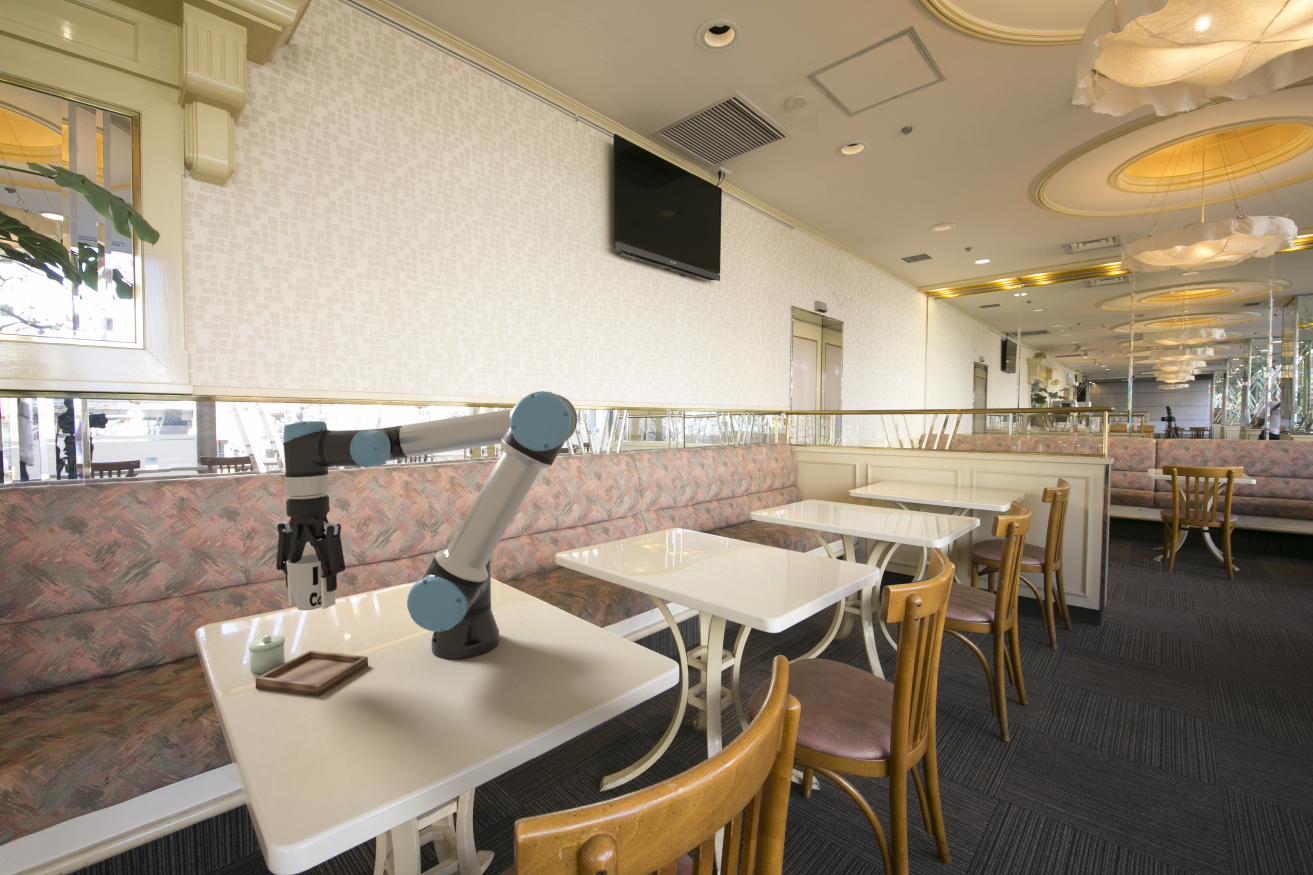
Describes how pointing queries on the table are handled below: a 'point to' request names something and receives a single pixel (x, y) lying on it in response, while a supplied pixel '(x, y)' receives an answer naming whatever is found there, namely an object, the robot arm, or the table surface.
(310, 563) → the cup
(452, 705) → the table surface
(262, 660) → the sugar pot
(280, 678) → the tray
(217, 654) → the table surface
